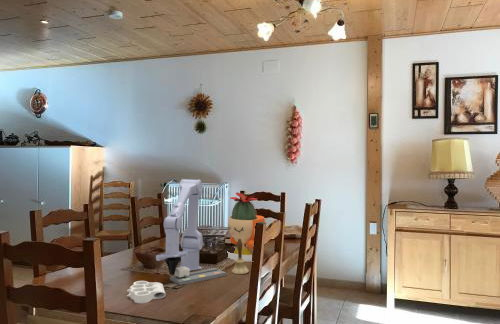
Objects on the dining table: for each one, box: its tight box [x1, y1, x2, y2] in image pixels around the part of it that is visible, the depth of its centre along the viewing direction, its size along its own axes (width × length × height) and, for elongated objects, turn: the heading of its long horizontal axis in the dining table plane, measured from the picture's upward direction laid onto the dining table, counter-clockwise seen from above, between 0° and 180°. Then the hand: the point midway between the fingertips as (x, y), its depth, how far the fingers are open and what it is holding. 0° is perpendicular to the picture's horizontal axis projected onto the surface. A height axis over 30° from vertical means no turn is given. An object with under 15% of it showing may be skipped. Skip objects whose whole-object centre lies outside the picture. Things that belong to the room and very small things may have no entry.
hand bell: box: [231, 239, 250, 275], centre depth 197 cm, size 8×8×16 cm
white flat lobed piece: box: [125, 280, 166, 304], centre depth 164 cm, size 3×18×15 cm
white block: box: [174, 266, 191, 278], centre depth 182 cm, size 7×5×3 cm
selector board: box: [169, 267, 227, 286], centre depth 187 cm, size 9×24×2 cm, turn 128°
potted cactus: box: [227, 192, 266, 263], centre depth 228 cm, size 22×22×35 cm
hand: (172, 274), depth 180 cm, fingers closed
